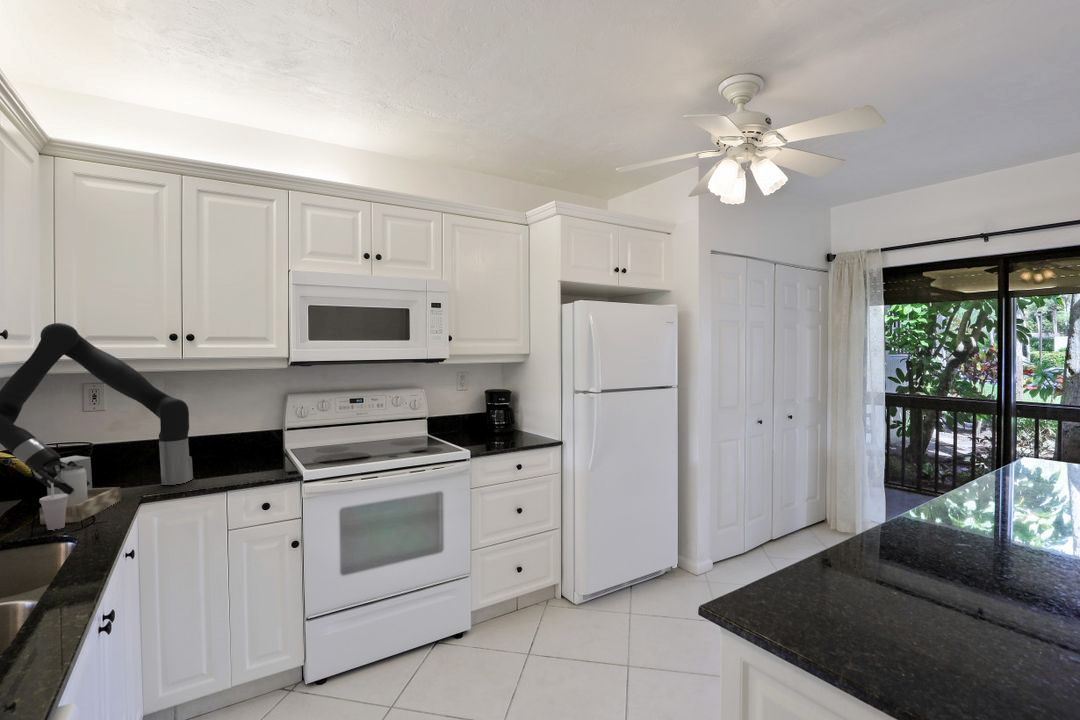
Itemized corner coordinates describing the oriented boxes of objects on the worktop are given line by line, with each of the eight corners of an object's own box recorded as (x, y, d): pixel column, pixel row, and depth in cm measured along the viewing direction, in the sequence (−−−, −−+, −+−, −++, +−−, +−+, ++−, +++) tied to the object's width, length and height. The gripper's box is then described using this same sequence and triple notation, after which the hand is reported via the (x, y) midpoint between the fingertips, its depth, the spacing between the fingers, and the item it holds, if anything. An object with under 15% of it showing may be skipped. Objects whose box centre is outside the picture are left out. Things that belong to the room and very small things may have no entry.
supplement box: (63, 506, 175) (60, 463, 174) (47, 503, 178) (44, 461, 177) (94, 498, 184) (91, 456, 183) (78, 495, 187) (75, 455, 186)
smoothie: (37, 533, 151) (33, 487, 150) (47, 526, 157) (44, 481, 156) (65, 530, 153) (61, 484, 153) (74, 522, 159) (71, 478, 159)
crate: (87, 502, 178) (86, 488, 178) (121, 501, 180) (120, 486, 179) (40, 524, 159) (39, 508, 158) (78, 522, 160) (77, 506, 160)
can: (71, 508, 165) (69, 471, 164) (55, 506, 166) (53, 470, 165) (93, 501, 171) (90, 465, 170) (77, 500, 172) (75, 465, 172)
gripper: (26, 452, 159) (71, 487, 162) (62, 442, 174) (103, 474, 176) (8, 469, 159) (53, 505, 161) (46, 458, 173) (87, 490, 175)
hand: (79, 489), depth 169 cm, fingers closed on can, 6 cm apart
